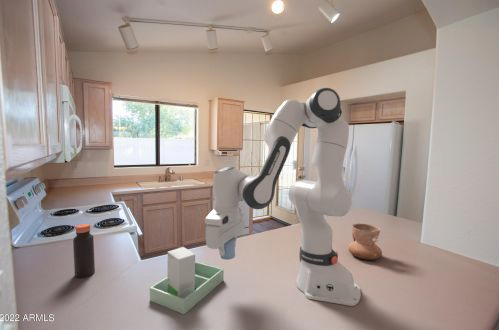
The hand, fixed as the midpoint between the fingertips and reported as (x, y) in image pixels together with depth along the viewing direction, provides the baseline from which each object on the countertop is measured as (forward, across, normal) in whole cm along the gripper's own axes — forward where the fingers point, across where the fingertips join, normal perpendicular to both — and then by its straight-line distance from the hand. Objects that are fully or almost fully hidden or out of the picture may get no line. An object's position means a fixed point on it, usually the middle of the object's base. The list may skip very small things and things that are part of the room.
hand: (227, 251), depth 87 cm
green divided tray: (+14, +7, -13) cm, 20 cm away
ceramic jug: (+17, -54, +42) cm, 71 cm away
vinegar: (+13, +17, -58) cm, 62 cm away
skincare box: (+14, +11, -13) cm, 22 cm away
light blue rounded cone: (+2, 0, 0) cm, 2 cm away
